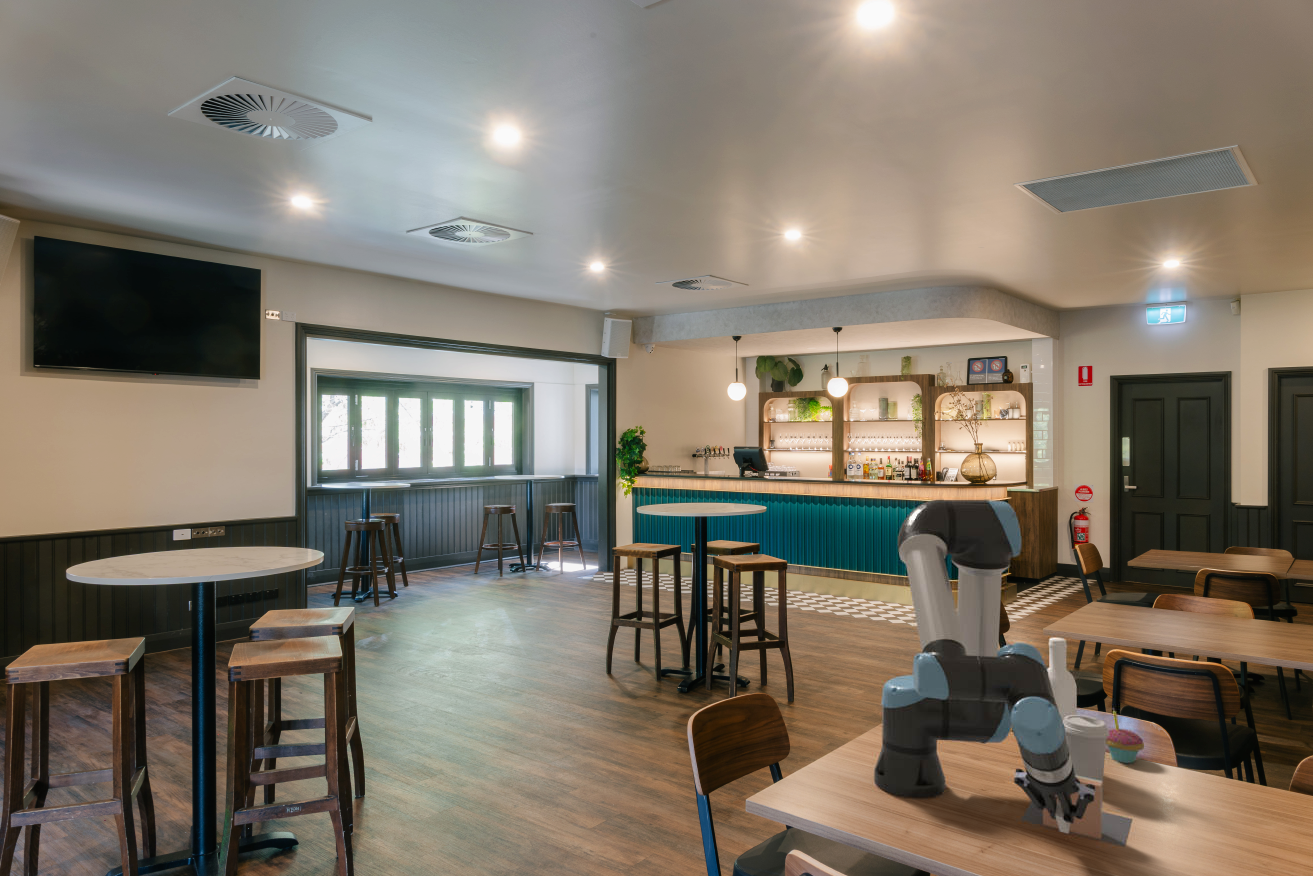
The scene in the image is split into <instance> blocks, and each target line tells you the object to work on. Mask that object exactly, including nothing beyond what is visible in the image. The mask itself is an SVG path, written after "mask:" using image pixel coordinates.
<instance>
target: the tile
mask: <svg viewBox="0 0 1313 876" xmlns="http://www.w3.org/2000/svg"><path fill="white" fill-rule="evenodd" d="M1075 777H1076V778H1077V779H1079V781H1080V784H1082V785H1085V786H1086V785H1088V784H1092V785H1094V786H1095V795H1094V801H1093V802H1091V803H1088V805H1087V808H1086V810H1085V813H1084V815H1083V817H1082V819H1078V818H1076V817H1075V816H1074V823H1070V827H1069V831H1070V832H1074V833H1078V834H1082V835H1086V836H1090V837H1094V838H1097V839H1101V837H1102V834H1103V812H1104V811H1103V810H1104V809H1103V808H1104V807H1103V805H1104V803H1103V802H1104V801H1103V784H1102V781H1100V780H1095V779H1090V778H1086V777H1081V776H1077V775H1075ZM1055 796H1056V797H1057V795H1055ZM1070 796H1071V800H1072V804H1073V805H1076V801H1077V799H1078V796H1079V791H1078V792H1076V793H1074V794H1071V795H1070ZM1057 801H1058V797H1057ZM1058 802H1060V801H1058ZM1043 825H1047V826H1051V827H1054V828H1058V829H1059V827H1058V823H1057V820H1056V819H1052V818H1051V817H1050V813H1049V812H1048V810H1047V809H1045V808H1044V810H1043Z"/></svg>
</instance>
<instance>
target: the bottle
mask: <svg viewBox="0 0 1313 876" xmlns="http://www.w3.org/2000/svg"><path fill="white" fill-rule="evenodd" d="M1048 647H1049V649H1048V650H1049V651H1048V652H1049V653H1048V655H1049V657H1048V659H1049V661H1048V662H1049V664H1048V665H1049V666H1048V668H1047V671H1048V676H1049V680H1050V683H1051V687H1052V691H1053V695H1054V699H1055V702H1056V704H1057V707H1058V710H1059V714H1060V715H1061V717H1062V721H1064V718H1065V716H1068V715H1078V713H1077V710H1078V709H1077V707H1078V706H1077V705H1078V704H1077V701H1078V700H1077V697H1078V696H1077V695H1078V694H1077V687H1078V686H1077V683H1076V680H1075V677H1074V675H1073V674H1072V673H1071V672H1070V671H1069V670H1068V669H1067V648H1068V645H1067V640H1066V639H1065V638H1063V637H1050V638H1049V639H1048Z"/></svg>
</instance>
